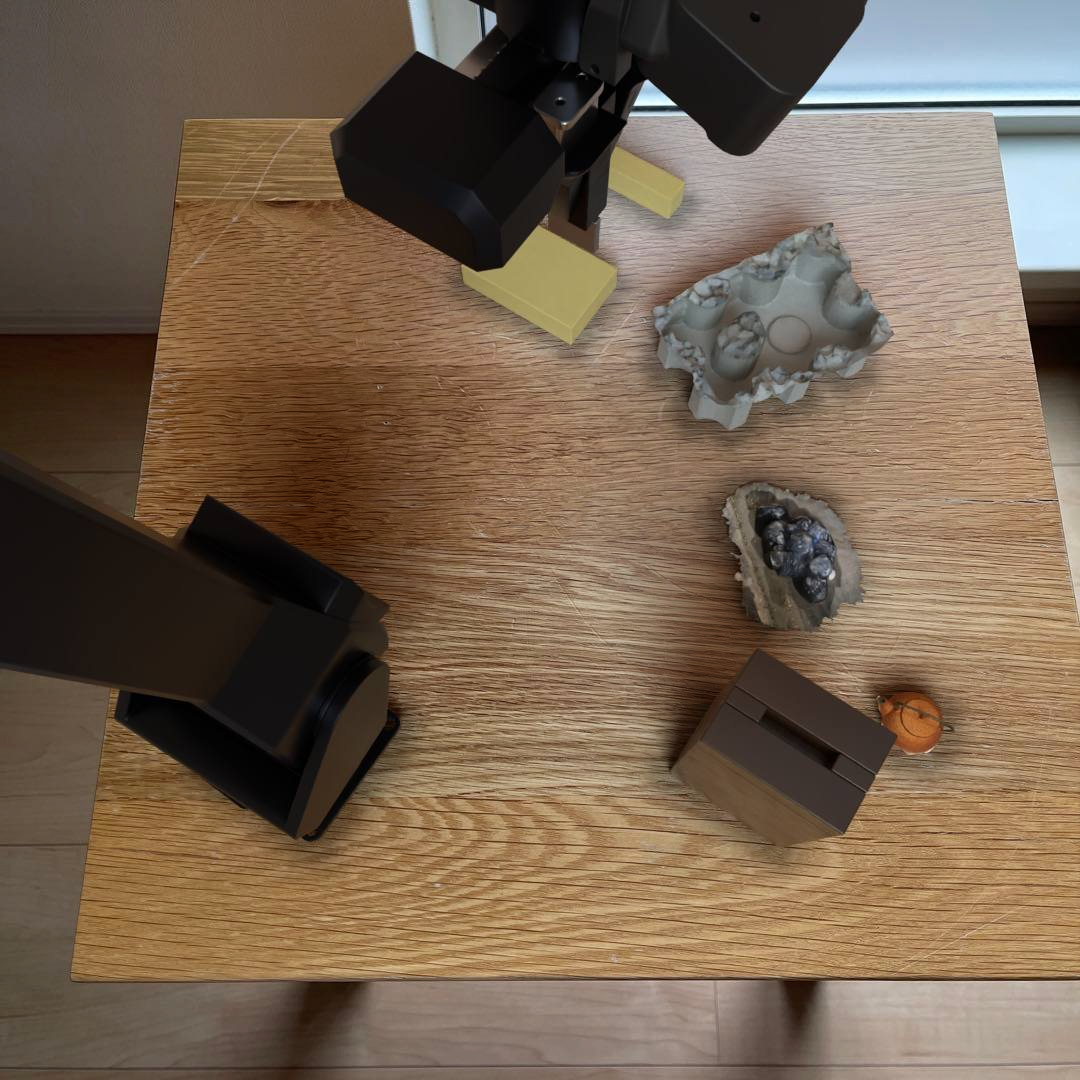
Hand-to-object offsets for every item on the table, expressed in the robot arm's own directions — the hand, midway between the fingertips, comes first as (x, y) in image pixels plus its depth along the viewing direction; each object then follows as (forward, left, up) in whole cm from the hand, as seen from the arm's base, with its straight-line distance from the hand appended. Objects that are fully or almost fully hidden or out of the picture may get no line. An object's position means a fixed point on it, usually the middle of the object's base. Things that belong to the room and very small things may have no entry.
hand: (572, 198), depth 38 cm
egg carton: (+6, -8, -12) cm, 16 cm away
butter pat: (+11, +4, -12) cm, 16 cm away
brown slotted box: (-13, -18, -12) cm, 26 cm away
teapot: (-7, -23, -12) cm, 27 cm away
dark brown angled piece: (0, 0, -3) cm, 3 cm away
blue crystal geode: (-4, -15, -12) cm, 19 cm away
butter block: (+3, +4, -12) cm, 12 cm away
